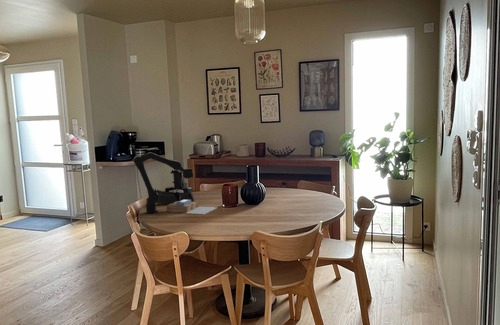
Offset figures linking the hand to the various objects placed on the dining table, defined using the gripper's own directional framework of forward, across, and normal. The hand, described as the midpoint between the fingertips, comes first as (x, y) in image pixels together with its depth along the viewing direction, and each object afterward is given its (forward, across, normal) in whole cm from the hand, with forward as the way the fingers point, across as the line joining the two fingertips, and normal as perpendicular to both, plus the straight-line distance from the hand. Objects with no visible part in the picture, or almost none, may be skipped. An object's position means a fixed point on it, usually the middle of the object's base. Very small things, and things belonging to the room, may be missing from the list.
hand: (179, 201), depth 275 cm
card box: (+1, -4, 0) cm, 4 cm away
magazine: (+6, +14, -14) cm, 21 cm away
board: (+5, -2, 0) cm, 6 cm away
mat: (+5, -17, 0) cm, 18 cm away
